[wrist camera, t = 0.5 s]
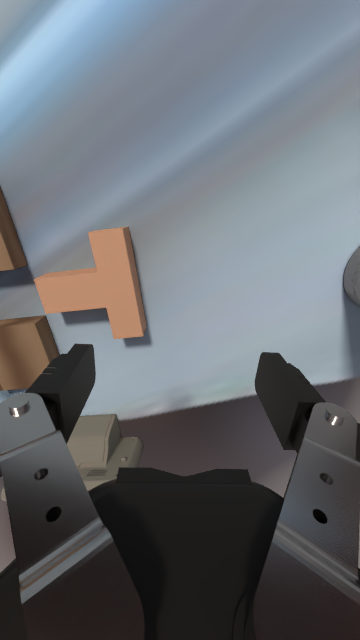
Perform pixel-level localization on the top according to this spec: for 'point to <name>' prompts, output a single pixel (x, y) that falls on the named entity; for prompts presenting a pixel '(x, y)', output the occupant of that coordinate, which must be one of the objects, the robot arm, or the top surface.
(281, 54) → the top surface
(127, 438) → the digital clock
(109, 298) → the t block
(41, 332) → the slot nest
